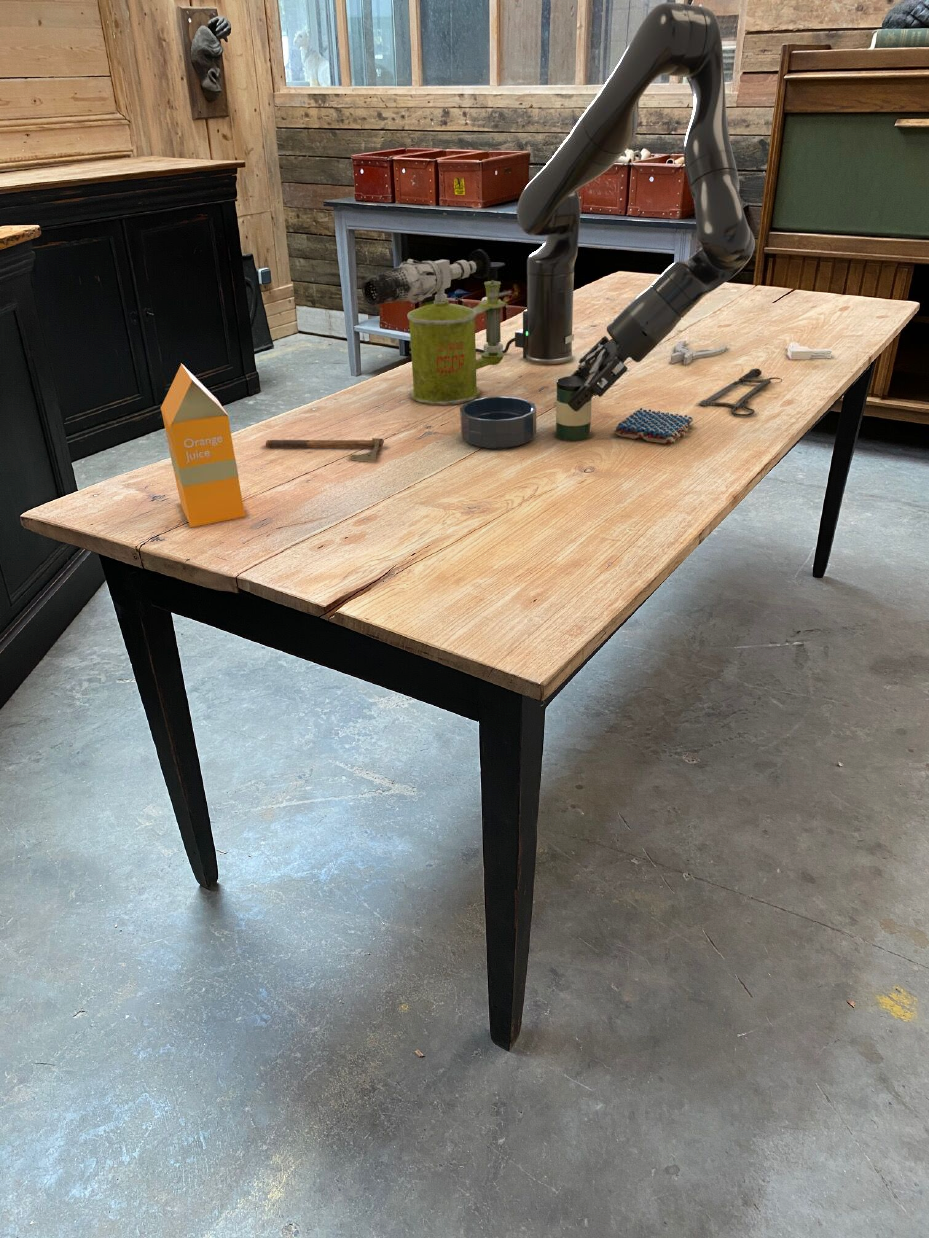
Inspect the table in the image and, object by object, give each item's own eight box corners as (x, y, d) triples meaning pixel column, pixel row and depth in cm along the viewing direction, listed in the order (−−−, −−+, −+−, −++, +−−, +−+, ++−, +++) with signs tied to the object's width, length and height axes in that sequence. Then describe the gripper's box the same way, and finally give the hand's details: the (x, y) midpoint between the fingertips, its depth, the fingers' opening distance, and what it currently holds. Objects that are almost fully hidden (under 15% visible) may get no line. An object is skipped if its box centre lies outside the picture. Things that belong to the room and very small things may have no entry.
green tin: (548, 436, 154) (549, 382, 150) (568, 426, 158) (569, 373, 153) (578, 443, 151) (579, 388, 146) (597, 433, 155) (599, 379, 150)
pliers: (728, 341, 195) (702, 359, 184) (727, 348, 195) (701, 367, 185) (683, 336, 199) (655, 353, 189) (682, 343, 200) (654, 361, 189)
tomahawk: (256, 464, 150) (255, 457, 149) (269, 443, 156) (268, 436, 155) (376, 465, 147) (375, 458, 147) (384, 444, 153) (383, 437, 152)
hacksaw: (752, 374, 180) (753, 366, 179) (804, 382, 174) (806, 374, 173) (692, 407, 164) (693, 399, 163) (748, 418, 158) (749, 410, 158)
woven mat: (696, 427, 156) (697, 415, 155) (672, 447, 148) (673, 435, 147) (637, 417, 161) (638, 406, 160) (611, 436, 153) (611, 424, 152)
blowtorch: (528, 379, 182) (528, 242, 169) (406, 424, 161) (395, 273, 149) (478, 368, 189) (474, 236, 177) (356, 410, 169) (342, 264, 156)
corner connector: (823, 348, 193) (824, 340, 192) (832, 359, 186) (833, 351, 186) (783, 348, 194) (784, 340, 193) (790, 359, 187) (792, 351, 186)
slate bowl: (446, 441, 154) (445, 411, 151) (492, 420, 162) (491, 392, 159) (505, 456, 147) (505, 425, 145) (550, 434, 155) (550, 404, 153)
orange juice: (189, 527, 128) (160, 383, 118) (179, 504, 135) (151, 366, 125) (246, 516, 131) (222, 374, 121) (233, 494, 138) (209, 358, 128)
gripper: (620, 297, 150) (548, 370, 156) (635, 318, 138) (556, 397, 144) (651, 329, 153) (579, 400, 159) (668, 353, 141) (589, 429, 147)
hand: (568, 399), depth 151 cm, fingers open, 8 cm apart
